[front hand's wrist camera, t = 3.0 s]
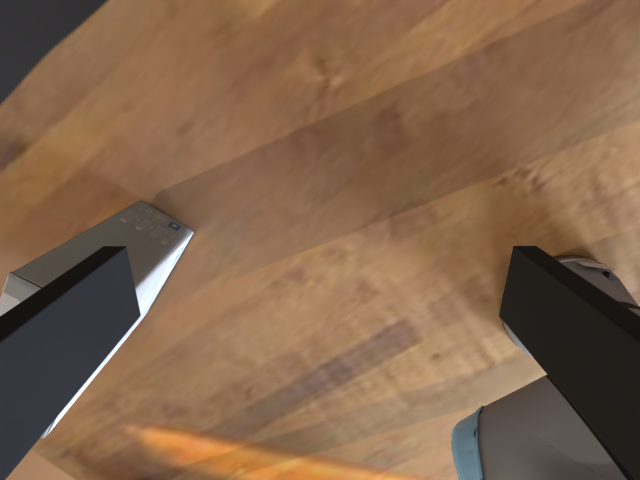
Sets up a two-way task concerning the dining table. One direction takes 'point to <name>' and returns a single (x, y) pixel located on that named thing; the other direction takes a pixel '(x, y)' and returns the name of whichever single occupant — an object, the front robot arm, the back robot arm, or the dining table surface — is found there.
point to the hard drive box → (119, 230)
